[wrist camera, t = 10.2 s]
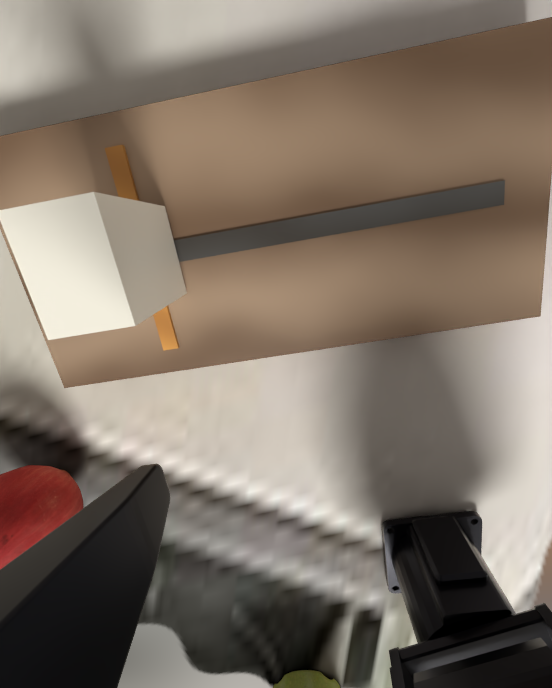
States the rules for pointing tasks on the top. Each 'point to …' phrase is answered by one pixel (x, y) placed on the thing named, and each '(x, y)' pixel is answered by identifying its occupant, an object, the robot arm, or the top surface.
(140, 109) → the fader console
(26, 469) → the onion
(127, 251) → the fader knob
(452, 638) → the robot arm
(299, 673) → the plant pot
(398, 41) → the top surface
